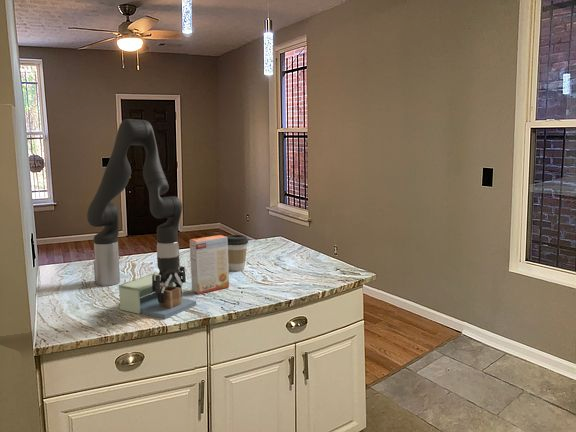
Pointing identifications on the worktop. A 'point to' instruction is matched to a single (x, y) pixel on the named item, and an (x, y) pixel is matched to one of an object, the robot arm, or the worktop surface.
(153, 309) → the base
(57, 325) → the worktop surface
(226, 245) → the cracker box
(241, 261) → the coffee cup
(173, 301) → the wooden box
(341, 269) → the worktop surface
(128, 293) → the cover
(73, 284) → the worktop surface
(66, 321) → the worktop surface
